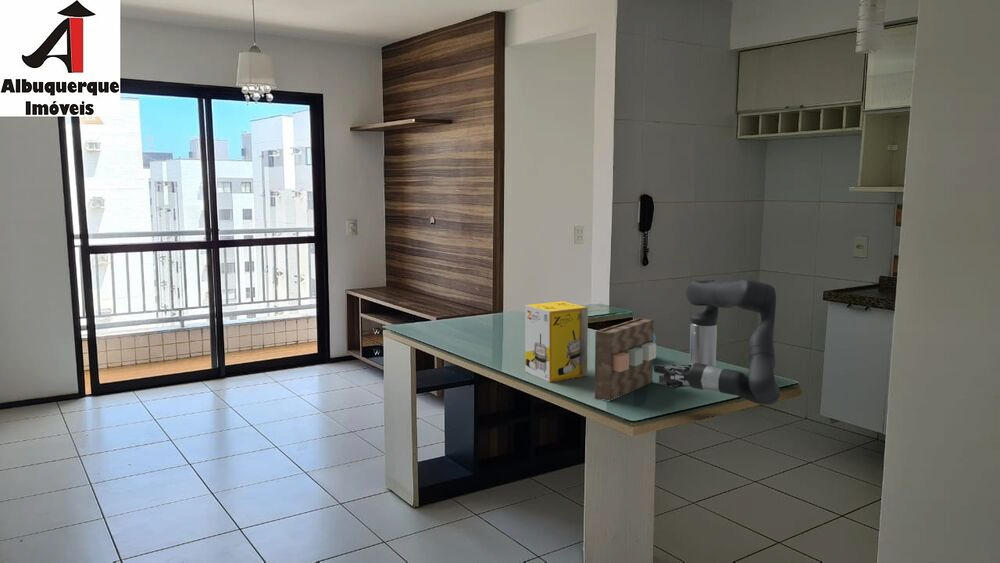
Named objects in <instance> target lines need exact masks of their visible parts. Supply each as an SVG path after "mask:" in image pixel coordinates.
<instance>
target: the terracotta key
mask: <svg viewBox="0 0 1000 563" xmlns="http://www.w3.org/2000/svg"><path fill="white" fill-rule="evenodd" d="M627 369H629V353H623V352H618V353H615V354H613V371H618V372H622V371H625V370H627Z"/></svg>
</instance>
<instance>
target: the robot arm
mask: <svg viewBox="0 0 1000 563" xmlns="http://www.w3.org/2000/svg"><path fill="white" fill-rule="evenodd" d="M685 293H686V294H685V295H686V298H687V300H688V302H689V303H690V304H691V305H693V306H695V307H697V306H699V307H701V306H705V307H704V308H703V309H702V310H700V311H699V312H696V313H693V314H692V315H691V317H690V334H689V335H690V336H689V337H690V338H689V339H690V342H689V364H672V365H661V364H654V365H653V373H656V374H661V375H664V377H665V378H667V379H668V380H670V381H672V382H674V381H675V379H677V380H679V381H683V382H685V381H688V382H689V385H690V386H689V387H690V388H692V389H695V390H696V389H697V390H702V391H706V392H713V393H721V394H727V395H732V396H738V397H739V398H742V399H744V400H746V401H749V402H752V403H755V404H758V405H763V406H765V405H766V406H769V405H773V404H775V403H777V402H778V401H779V399H780V398H781V389H780V388H779V384H778V383H777V381H776V378H775V371H774V369H775V367H776V354H775V345H774V343H775V342H774V333H775V323H776V322H775V321H776V306H777V293H776V289H775V288H774V285H772V284H768V283H765V282H761V281H759V280H753V279H747V278H746V279H741V280H737V281H736V280H735V281H733V280H728V279H727V280H714V279H702V280H701V279H698V280H693V281H690V282H689V284H688V285H687V287H686V292H685ZM735 307H736V308H739V309H742V310H745V311H750V312H754V313H759V315H760V322H759V325H758V326H757V327H756V329H755V330H754V331H753V333H752V335H751V336H750V338H749V341H748V346H747V349H748V362H749V367H748V375H745V373H743V372H742V371H739V370H735V369H729V368H723V367H721V366H716V364H717V363H716V362H717V361H716V360H717V334H718V333H717V330H718V329H717V327H718V325H717V324H718V319H719V308H721V309H733V308H735Z"/></svg>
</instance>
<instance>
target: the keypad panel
mask: <svg viewBox="0 0 1000 563" xmlns="http://www.w3.org/2000/svg"><path fill="white" fill-rule="evenodd" d="M654 324H655V323H654V319H651V318H650V319H649V318H642V317H638V318H635V319H631V320H629V321H625V322H622V323H618V324H614V325H612V326H608V327H606V328H602V329H598V330H595V338H594V339H595V340H594V343H595V344H594V346H595V347H594V349H595V350H594V351H595V352H594V353H595V355H594V356H595V357H594V358H595V359H594V364H595V365H594V399H596V398H599V399H598V400H601V399H605V400H611V399H614V398H616V397H618V396H620V397H622V396H621V395H623V394H625V393H627V394H629V393H631V392H633V391H632V390H634V391H636V390H637V389H640V388H642V387H644V386H646V385H649V384H650V383H653V372H654V365H653V364H654V363H653V361H654V359H652V360H649V361H647V360H643V363H642V364H640V365H637V366H631V365H629V369H627V370H625V371H622V372H618V371H613V354H615V353H618V352H623V353H628V349H629V348H632V347H637V348H642V344H643V343H646V342H650V343H653V333H654ZM635 389H636V390H635ZM630 391H631V392H630ZM628 392H629V393H628ZM625 395H626V394H625ZM623 396H624V395H623ZM618 398H619V397H618ZM616 399H617V398H616ZM605 400H604V401H605ZM614 400H615V399H614Z"/></svg>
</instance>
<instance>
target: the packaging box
mask: <svg viewBox="0 0 1000 563" xmlns="http://www.w3.org/2000/svg"><path fill="white" fill-rule="evenodd" d="M588 313H589V308H588V306H584V305H580V304H575V303H571V302H568V301H565V300H560V301H559V300H558V301H551V302H541V303H533V304H532V303H531V304H530V303H529V304H525V305H524V347H525V348H524V353H525V354H524V357H525V358H524V362H525V363H524V364H525V366H524V367H525V368H524V369H525V373H527V372H528V373H527V374H529V373H530V375H531V376H533V377H537V378H538V379H541V380H543V381H546V382H548V383H553V382H558V381H559V382H560V381H563V380H564V379H565V380H570V379H569V378H571V379H575V377H577V378H581V377H587V376H588V343H589V342H588V340H589V338H588V337H589V335H588V330H589V328H588V326H589V325H588V323H589V322H588V320H589V318H588V317H589V315H588Z"/></svg>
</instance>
